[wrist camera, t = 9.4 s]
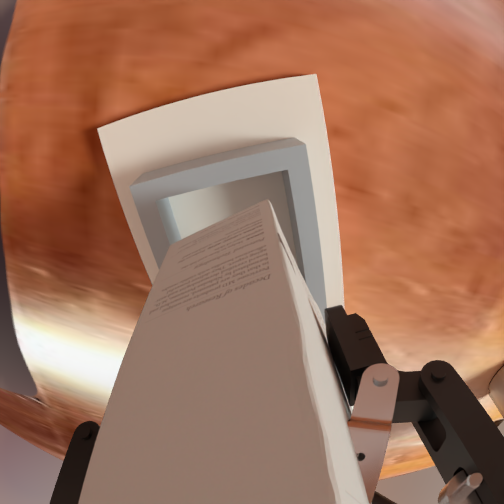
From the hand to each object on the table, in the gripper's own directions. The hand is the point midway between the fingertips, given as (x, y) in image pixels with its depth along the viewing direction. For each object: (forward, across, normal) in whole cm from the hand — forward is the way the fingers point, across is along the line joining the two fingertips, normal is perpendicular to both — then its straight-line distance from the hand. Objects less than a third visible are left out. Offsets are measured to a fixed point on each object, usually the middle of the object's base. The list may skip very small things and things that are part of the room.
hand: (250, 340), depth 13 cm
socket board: (+11, 0, 0) cm, 11 cm away
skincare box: (+5, 0, 0) cm, 5 cm away
